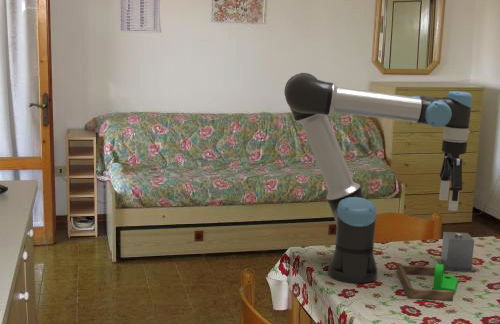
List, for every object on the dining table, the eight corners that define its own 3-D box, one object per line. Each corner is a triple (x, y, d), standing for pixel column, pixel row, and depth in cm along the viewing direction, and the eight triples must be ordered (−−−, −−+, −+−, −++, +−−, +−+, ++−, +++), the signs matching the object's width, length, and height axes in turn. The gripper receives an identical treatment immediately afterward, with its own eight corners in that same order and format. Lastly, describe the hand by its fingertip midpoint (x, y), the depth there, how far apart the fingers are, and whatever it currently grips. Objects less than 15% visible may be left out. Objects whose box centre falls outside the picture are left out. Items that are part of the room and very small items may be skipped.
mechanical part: (453, 296, 194) (456, 269, 193) (432, 292, 196) (435, 266, 195) (458, 282, 205) (460, 258, 203) (438, 279, 207) (440, 254, 206)
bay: (408, 298, 191) (408, 288, 190) (396, 272, 212) (397, 263, 211) (452, 300, 190) (453, 290, 189) (437, 274, 211) (437, 265, 210)
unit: (443, 270, 215) (446, 237, 213) (437, 260, 225) (440, 228, 223) (475, 272, 214) (478, 239, 212) (467, 261, 224) (470, 230, 222)
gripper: (477, 147, 200) (469, 216, 204) (457, 135, 224) (450, 196, 228) (452, 145, 200) (444, 214, 204) (435, 134, 224) (428, 195, 228)
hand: (447, 205), depth 216 cm, fingers open, 13 cm apart
